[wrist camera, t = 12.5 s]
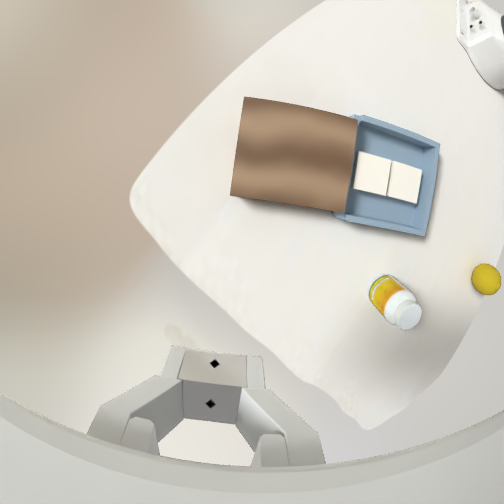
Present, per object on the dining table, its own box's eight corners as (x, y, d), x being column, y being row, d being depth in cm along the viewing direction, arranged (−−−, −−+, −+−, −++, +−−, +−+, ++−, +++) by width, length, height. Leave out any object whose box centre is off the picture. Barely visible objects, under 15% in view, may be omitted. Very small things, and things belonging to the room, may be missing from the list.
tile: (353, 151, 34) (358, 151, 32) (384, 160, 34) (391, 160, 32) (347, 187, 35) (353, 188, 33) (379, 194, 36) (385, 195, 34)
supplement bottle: (400, 277, 40) (432, 303, 31) (387, 306, 42) (415, 336, 32) (374, 269, 40) (405, 296, 30) (361, 300, 41) (387, 332, 32)
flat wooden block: (244, 104, 32) (244, 96, 28) (346, 124, 33) (357, 119, 29) (231, 192, 36) (229, 195, 32) (334, 208, 37) (343, 213, 33)
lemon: (485, 264, 40) (510, 279, 33) (473, 288, 42) (497, 305, 34) (473, 253, 39) (501, 267, 32) (460, 279, 41) (486, 296, 33)
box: (347, 117, 33) (357, 113, 30) (426, 144, 34) (439, 143, 31) (332, 215, 37) (341, 220, 34) (412, 230, 38) (424, 236, 35)
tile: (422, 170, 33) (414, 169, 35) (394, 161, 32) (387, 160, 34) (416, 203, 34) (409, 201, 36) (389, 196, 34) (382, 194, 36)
